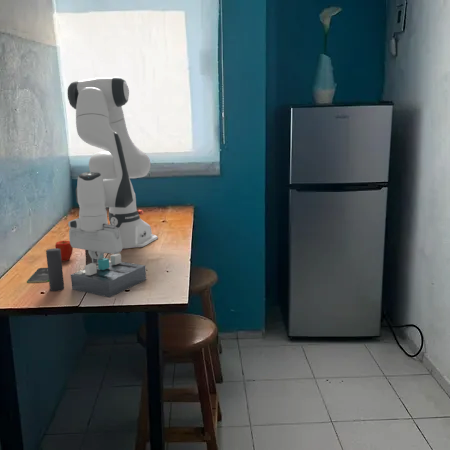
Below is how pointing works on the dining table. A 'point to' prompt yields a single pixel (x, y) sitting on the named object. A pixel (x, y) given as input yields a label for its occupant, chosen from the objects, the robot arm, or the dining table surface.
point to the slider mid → (103, 264)
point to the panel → (109, 279)
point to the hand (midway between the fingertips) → (97, 263)
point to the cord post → (55, 269)
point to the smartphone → (39, 276)
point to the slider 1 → (90, 269)
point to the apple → (64, 249)
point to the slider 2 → (115, 259)
